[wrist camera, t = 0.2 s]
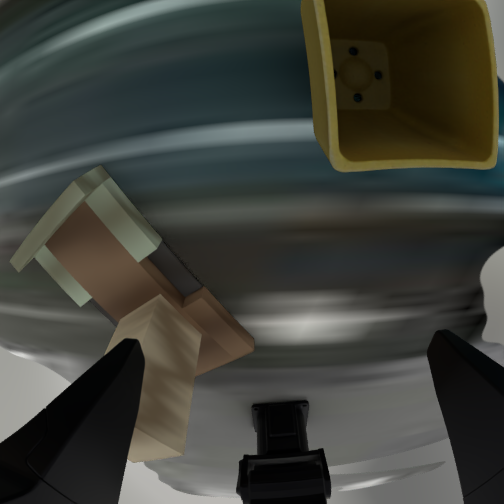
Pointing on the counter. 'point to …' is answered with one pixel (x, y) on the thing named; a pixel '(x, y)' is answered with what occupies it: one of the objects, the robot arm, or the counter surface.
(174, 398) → the beech block
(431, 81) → the flower pot
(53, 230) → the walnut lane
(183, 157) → the counter surface
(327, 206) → the counter surface
